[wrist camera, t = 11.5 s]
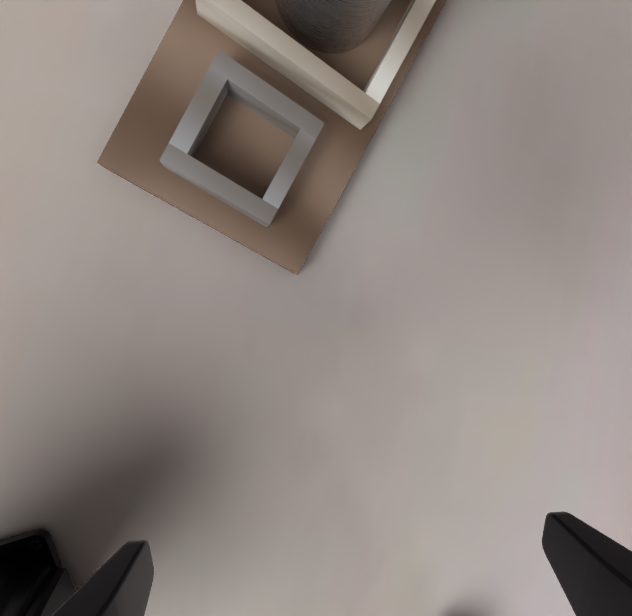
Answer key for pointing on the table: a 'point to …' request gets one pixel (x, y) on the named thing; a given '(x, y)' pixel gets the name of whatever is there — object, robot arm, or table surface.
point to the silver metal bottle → (331, 22)
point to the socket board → (260, 119)
